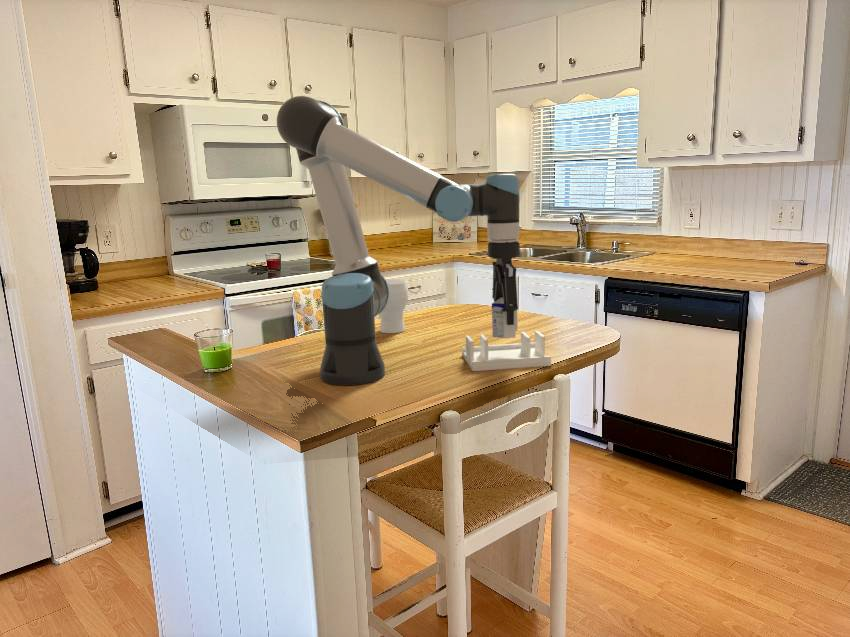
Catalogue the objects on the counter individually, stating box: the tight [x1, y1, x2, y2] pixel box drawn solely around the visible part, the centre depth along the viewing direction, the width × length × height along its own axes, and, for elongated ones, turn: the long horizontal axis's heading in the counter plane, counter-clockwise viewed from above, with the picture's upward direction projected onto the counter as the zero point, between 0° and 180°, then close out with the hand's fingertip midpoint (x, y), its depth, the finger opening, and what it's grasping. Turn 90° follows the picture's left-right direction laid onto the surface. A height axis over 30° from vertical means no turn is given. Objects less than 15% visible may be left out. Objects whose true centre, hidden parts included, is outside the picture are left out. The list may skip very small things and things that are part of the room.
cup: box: [379, 278, 409, 334], centre depth 191 cm, size 11×11×15 cm
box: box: [491, 298, 519, 339], centre depth 155 cm, size 8×4×9 cm, turn 159°
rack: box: [461, 330, 552, 372], centre depth 157 cm, size 19×14×6 cm
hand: (504, 332), depth 156 cm, fingers closed on box, 9 cm apart
